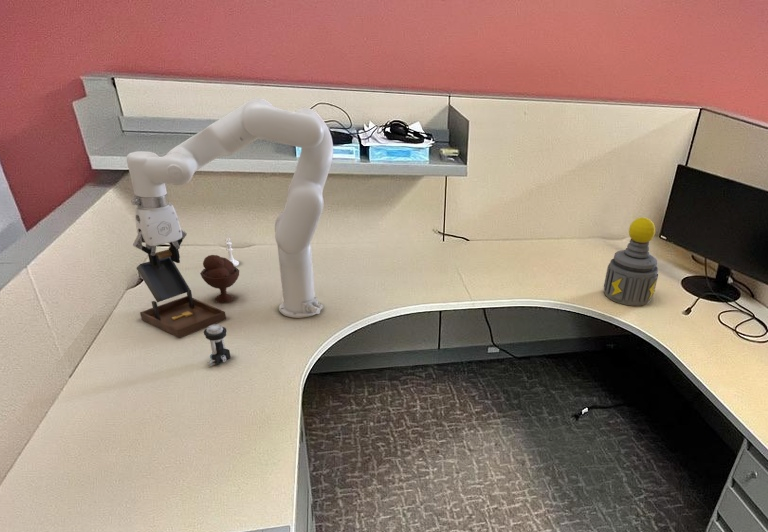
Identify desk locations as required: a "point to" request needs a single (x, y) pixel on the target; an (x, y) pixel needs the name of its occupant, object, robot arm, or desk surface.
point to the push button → (217, 344)
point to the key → (182, 315)
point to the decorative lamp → (633, 268)
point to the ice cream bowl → (220, 275)
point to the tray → (184, 325)
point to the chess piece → (231, 252)
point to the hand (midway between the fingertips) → (165, 263)
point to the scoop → (163, 277)
